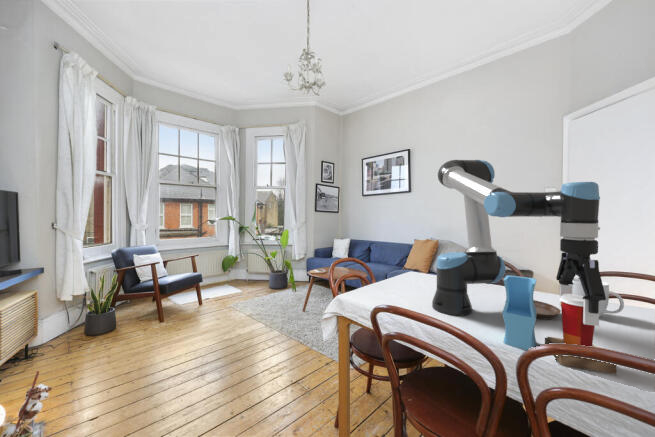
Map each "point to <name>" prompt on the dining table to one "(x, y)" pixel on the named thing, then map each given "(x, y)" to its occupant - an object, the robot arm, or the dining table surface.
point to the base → (581, 360)
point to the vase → (519, 312)
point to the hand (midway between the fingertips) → (577, 315)
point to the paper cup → (575, 321)
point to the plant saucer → (545, 310)
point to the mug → (603, 304)
